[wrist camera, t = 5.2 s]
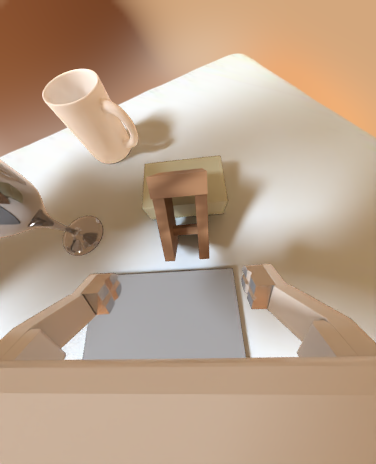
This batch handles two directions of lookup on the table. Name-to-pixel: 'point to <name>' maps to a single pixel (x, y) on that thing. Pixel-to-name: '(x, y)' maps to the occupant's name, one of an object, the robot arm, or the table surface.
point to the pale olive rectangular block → (187, 203)
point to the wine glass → (40, 214)
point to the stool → (161, 195)
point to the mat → (170, 318)
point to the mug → (91, 114)
